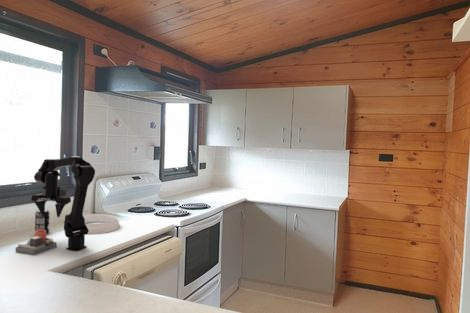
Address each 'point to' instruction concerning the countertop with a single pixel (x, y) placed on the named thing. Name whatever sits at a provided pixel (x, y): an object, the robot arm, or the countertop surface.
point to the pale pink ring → (102, 227)
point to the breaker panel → (34, 250)
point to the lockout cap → (41, 234)
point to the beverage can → (42, 220)
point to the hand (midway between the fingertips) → (50, 216)
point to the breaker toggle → (35, 241)
